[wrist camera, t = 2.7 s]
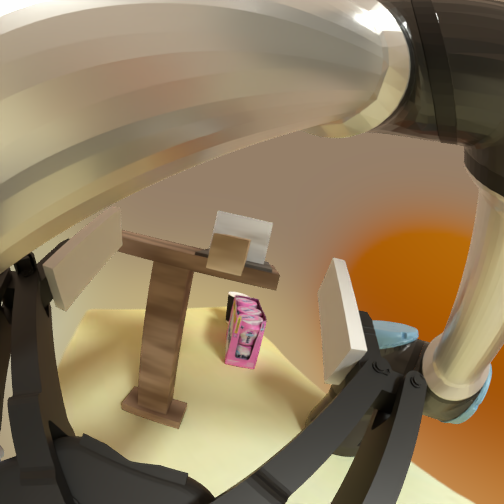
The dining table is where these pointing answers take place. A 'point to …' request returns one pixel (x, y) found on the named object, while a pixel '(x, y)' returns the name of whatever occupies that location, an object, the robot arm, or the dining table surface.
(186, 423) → the dining table surface
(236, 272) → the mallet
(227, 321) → the dixie cup
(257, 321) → the gum box
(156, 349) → the wooden t-shaped stand
